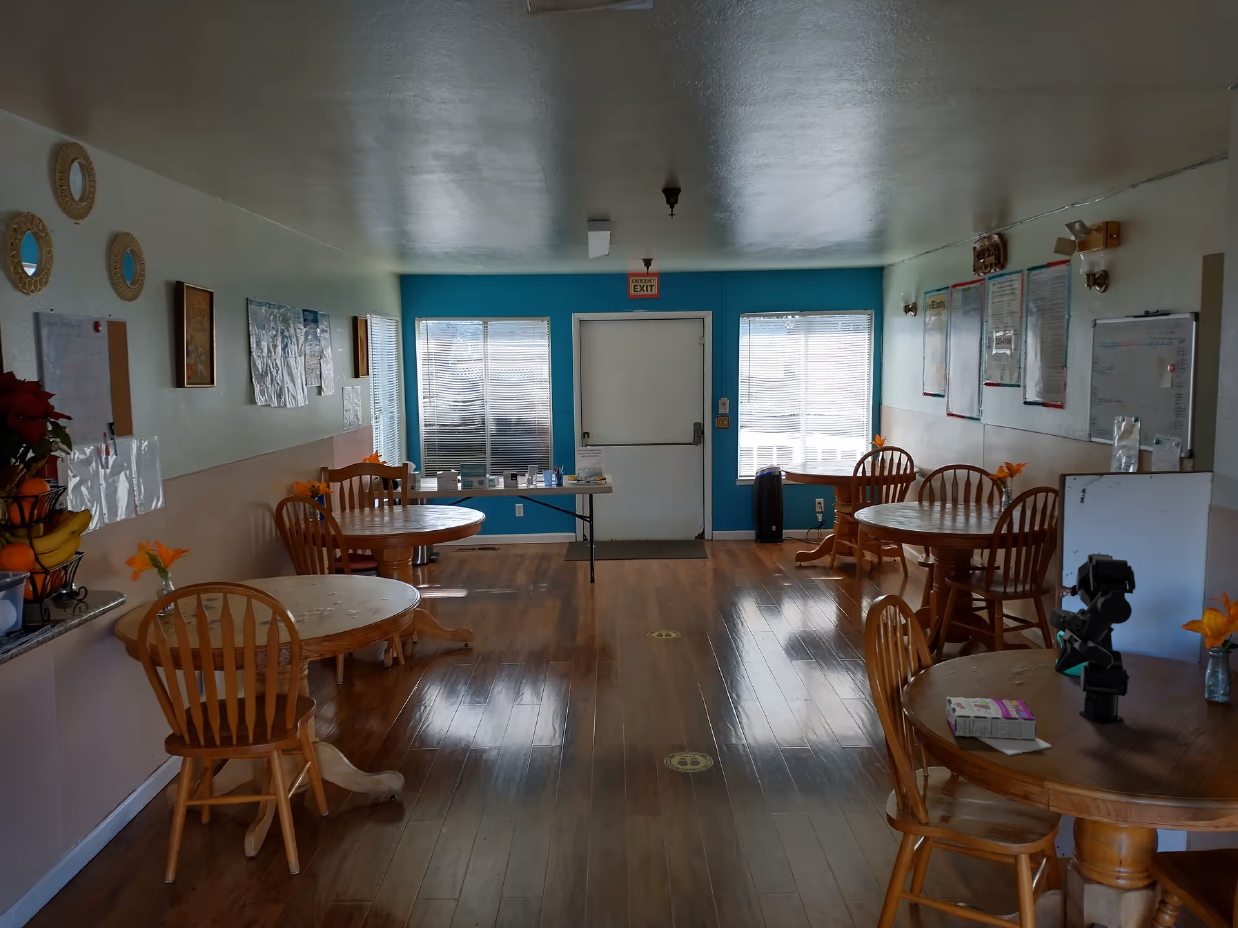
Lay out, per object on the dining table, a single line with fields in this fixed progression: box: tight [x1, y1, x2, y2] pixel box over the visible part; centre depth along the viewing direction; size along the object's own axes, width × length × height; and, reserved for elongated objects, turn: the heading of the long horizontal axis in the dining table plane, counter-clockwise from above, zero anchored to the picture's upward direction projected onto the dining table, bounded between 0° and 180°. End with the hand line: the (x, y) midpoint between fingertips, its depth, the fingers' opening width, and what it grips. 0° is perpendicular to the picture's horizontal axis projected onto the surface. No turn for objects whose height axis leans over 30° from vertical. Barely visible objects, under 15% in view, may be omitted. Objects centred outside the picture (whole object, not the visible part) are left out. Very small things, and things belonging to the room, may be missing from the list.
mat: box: [975, 737, 1052, 756], centre depth 191 cm, size 11×12×1 cm
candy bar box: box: [945, 696, 1037, 740], centre depth 195 cm, size 11×5×16 cm
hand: (1056, 671), depth 197 cm, fingers closed
